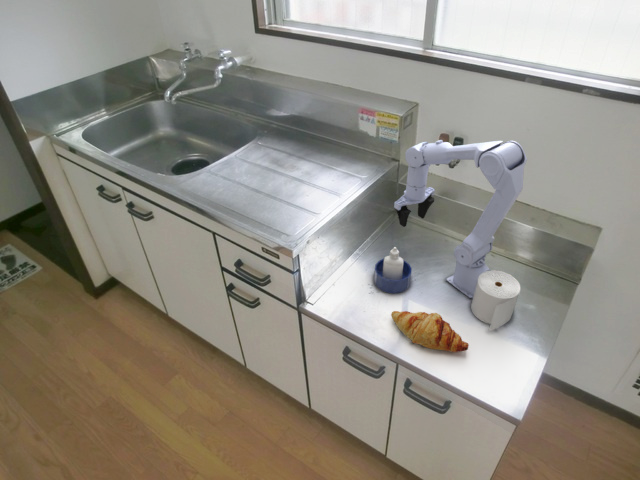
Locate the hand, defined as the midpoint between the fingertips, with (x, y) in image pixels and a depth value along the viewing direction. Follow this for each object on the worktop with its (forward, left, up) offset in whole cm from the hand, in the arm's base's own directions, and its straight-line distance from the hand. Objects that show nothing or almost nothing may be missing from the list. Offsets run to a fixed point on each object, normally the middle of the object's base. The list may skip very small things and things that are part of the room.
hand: (411, 221), depth 140 cm
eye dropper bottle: (-9, +15, -10) cm, 20 cm away
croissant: (-30, +21, -11) cm, 38 cm away
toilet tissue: (-34, +1, -11) cm, 36 cm away
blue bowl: (-9, +15, -10) cm, 20 cm away
